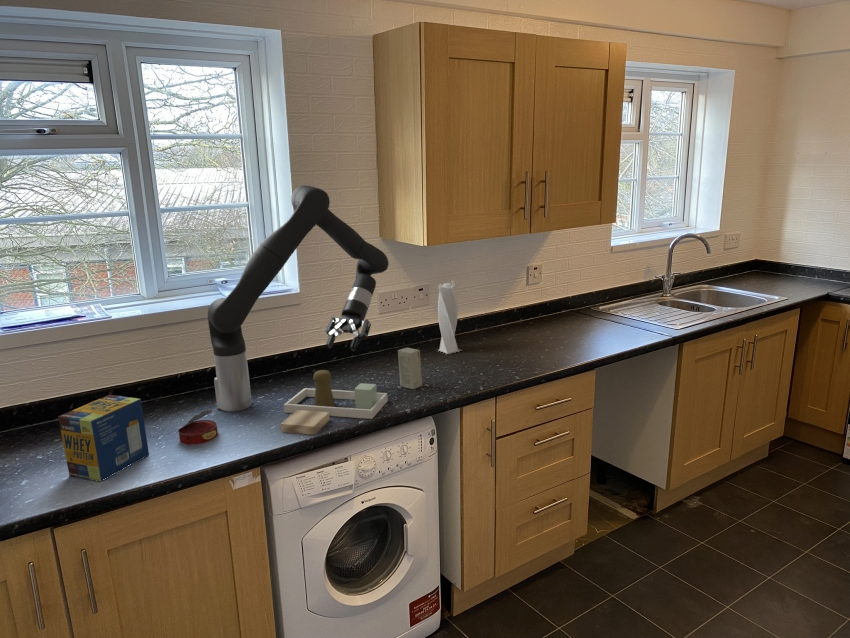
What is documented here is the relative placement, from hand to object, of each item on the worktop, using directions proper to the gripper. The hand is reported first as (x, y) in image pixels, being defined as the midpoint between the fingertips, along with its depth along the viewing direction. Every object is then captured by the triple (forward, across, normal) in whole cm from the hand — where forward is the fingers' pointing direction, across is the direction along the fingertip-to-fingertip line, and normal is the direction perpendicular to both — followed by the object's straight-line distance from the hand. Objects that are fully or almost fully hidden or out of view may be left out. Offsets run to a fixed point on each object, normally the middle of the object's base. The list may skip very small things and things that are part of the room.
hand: (340, 348), depth 194 cm
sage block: (+17, +13, +5) cm, 22 cm away
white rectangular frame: (+18, +4, +4) cm, 19 cm away
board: (+29, +4, -7) cm, 30 cm away
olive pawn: (+18, 0, +3) cm, 19 cm away
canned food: (+40, -20, -19) cm, 49 cm away
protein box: (+55, -28, -33) cm, 70 cm away
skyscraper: (-26, +14, +48) cm, 57 cm away
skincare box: (+1, +17, +20) cm, 27 cm away
